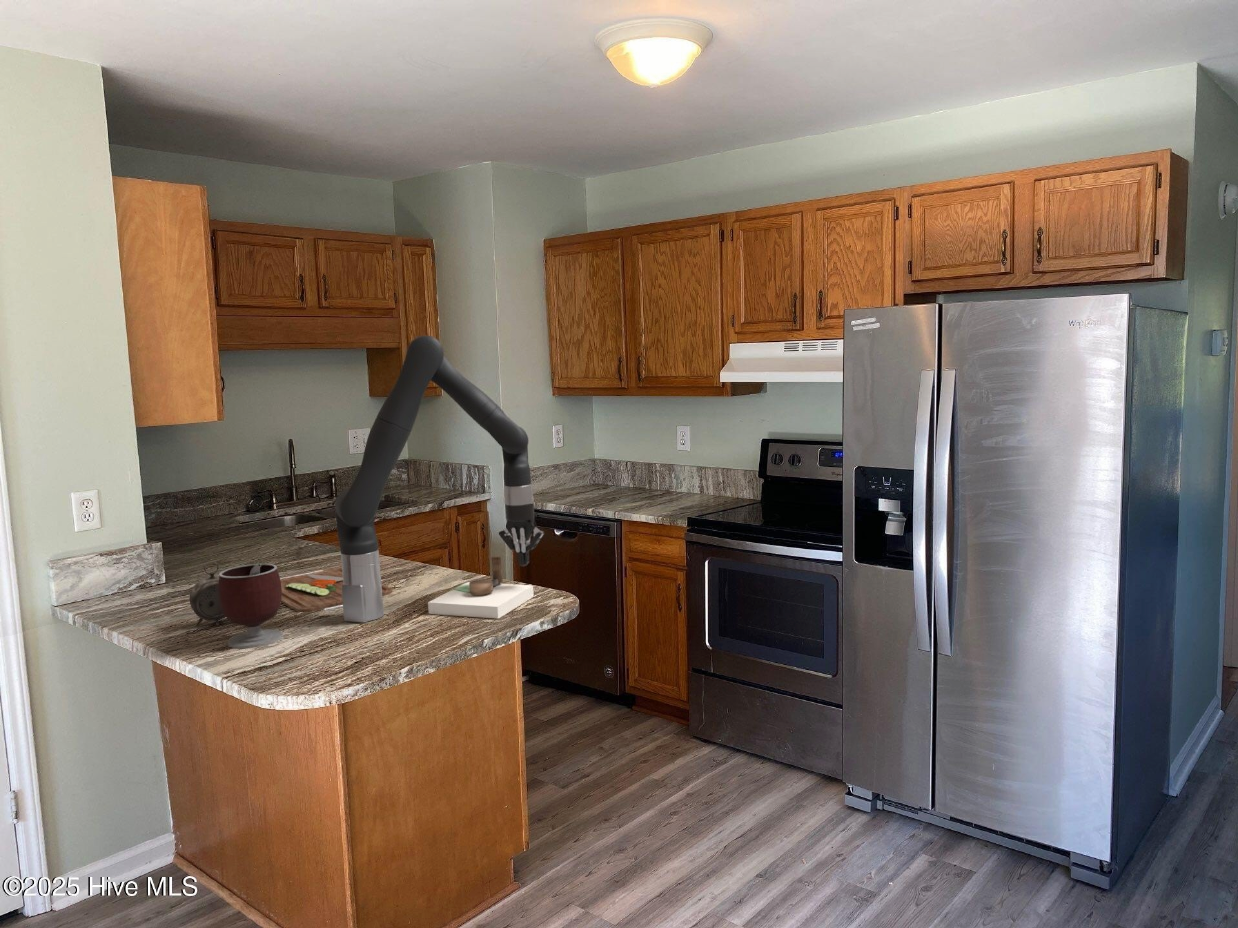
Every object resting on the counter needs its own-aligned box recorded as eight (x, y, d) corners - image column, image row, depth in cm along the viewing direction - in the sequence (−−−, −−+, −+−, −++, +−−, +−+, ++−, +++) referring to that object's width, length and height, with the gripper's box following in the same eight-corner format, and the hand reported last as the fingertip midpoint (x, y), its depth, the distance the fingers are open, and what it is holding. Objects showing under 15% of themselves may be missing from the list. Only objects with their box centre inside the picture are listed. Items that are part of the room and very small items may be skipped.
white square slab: (498, 618, 225) (497, 605, 224) (428, 613, 232) (427, 601, 231) (533, 596, 243) (532, 584, 243) (468, 592, 250) (467, 580, 250)
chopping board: (251, 586, 271) (250, 576, 271) (338, 569, 287) (337, 560, 287) (304, 617, 236) (302, 605, 235) (399, 596, 252) (399, 585, 252)
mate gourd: (216, 640, 218) (207, 559, 215) (274, 627, 227) (266, 548, 224) (237, 655, 206) (227, 569, 203) (297, 640, 215) (289, 558, 212)
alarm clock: (237, 617, 237) (231, 556, 235) (241, 621, 233) (235, 560, 231) (192, 625, 231) (185, 563, 229) (195, 630, 227) (188, 567, 225)
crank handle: (486, 595, 233) (484, 568, 232) (465, 594, 235) (463, 567, 234) (510, 581, 245) (508, 556, 244) (490, 580, 247) (488, 555, 247)
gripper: (490, 503, 238) (495, 568, 241) (535, 504, 234) (540, 569, 236) (503, 498, 245) (508, 561, 248) (547, 499, 241) (552, 562, 243)
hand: (523, 565), depth 242 cm, fingers closed
